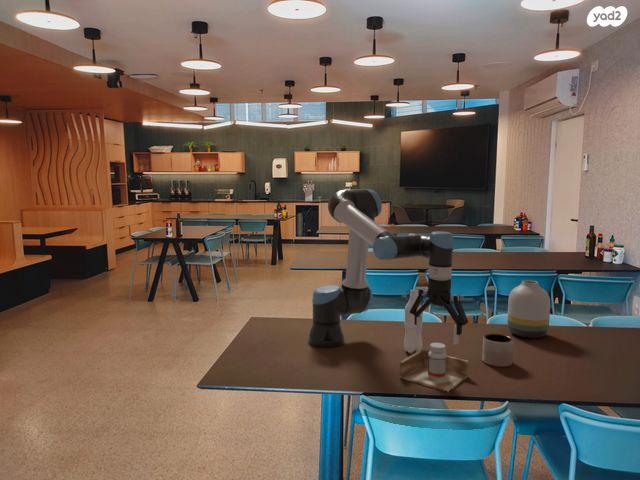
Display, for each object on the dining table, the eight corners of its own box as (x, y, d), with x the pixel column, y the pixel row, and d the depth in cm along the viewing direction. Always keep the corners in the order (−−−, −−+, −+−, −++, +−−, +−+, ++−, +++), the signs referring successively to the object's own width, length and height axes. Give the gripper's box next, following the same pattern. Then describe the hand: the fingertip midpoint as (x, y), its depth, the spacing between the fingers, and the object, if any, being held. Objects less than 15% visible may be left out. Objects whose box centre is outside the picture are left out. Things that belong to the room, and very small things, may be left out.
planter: (498, 370, 171) (499, 344, 170) (475, 360, 180) (476, 335, 179) (519, 364, 176) (520, 339, 175) (496, 355, 185) (497, 331, 184)
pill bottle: (432, 371, 167) (433, 340, 165) (449, 376, 163) (450, 344, 161) (424, 377, 162) (425, 345, 161) (441, 382, 158) (442, 349, 157)
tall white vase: (422, 355, 185) (423, 292, 182) (403, 353, 187) (404, 291, 184) (421, 348, 192) (423, 288, 189) (404, 347, 194) (405, 287, 191)
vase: (550, 332, 213) (553, 280, 210) (545, 343, 198) (548, 287, 195) (510, 326, 222) (513, 276, 219) (503, 336, 207) (505, 282, 204)
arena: (399, 377, 164) (399, 361, 163) (421, 364, 176) (421, 349, 175) (448, 392, 152) (448, 375, 152) (468, 376, 165) (468, 360, 164)
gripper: (401, 274, 163) (399, 333, 166) (471, 285, 147) (467, 350, 150) (411, 271, 169) (409, 328, 172) (480, 281, 153) (477, 344, 156)
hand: (436, 339), depth 161 cm, fingers open, 13 cm apart
